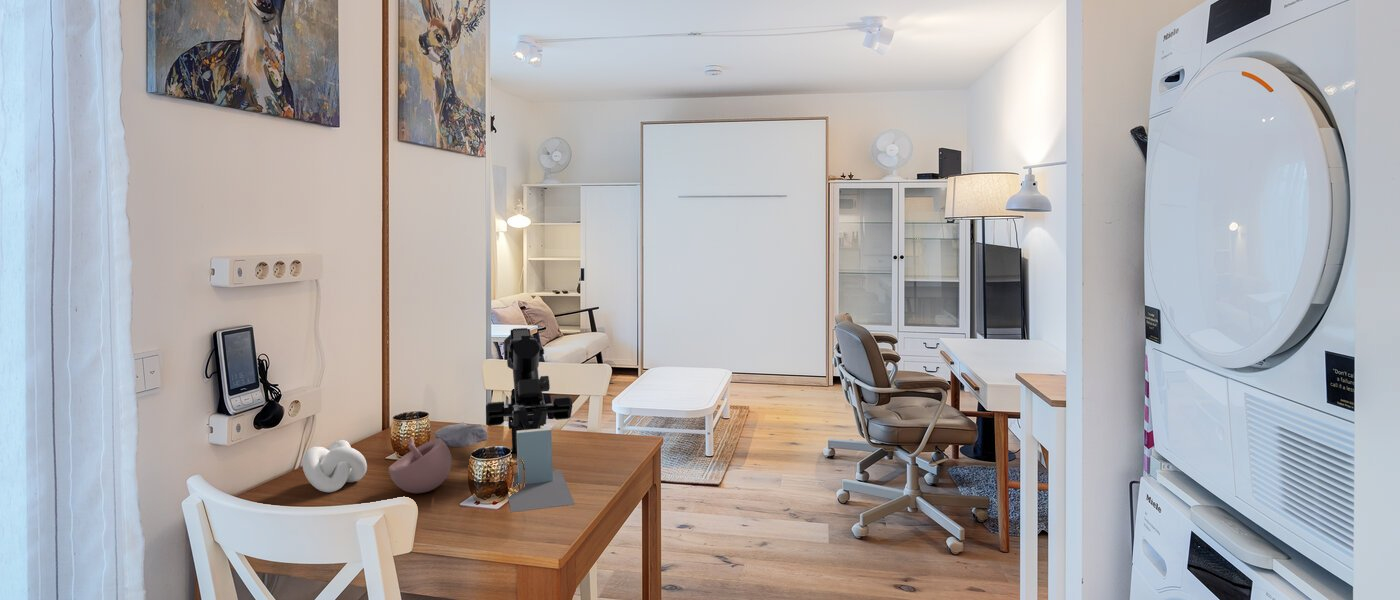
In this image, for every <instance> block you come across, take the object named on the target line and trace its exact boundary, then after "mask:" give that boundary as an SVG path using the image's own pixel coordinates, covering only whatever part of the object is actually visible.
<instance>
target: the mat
mask: <svg viewBox="0 0 1400 600" xmlns="http://www.w3.org/2000/svg"><path fill="white" fill-rule="evenodd" d="M552 470H553V469H552ZM513 475H514V482H513V487H515V486H516V484H517V485H518V473H517V474H513ZM518 488H519V491H518V492H517V493H514V494H512V495H511V496H510V497H509V498H508V497H507V499H508V504H509V509H510V513H517V512H524V511H533V510H534V511H535V510H540V509H549V508H557V507H564V506H565V507H566V506H571V505H575V504H576V503H575V500H574V498H573V496H572V493H571V491H570V488H569V486H568V484H567V482H566V479H565V477H564V475H563V472H562V470H561V469H554V470H553V481H548V482H539V483H530V484H525V487H524V488H523V489H522V490H521V489H520V485H518Z"/></svg>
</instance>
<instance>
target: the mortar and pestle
mask: <svg viewBox="0 0 1400 600" xmlns="http://www.w3.org/2000/svg"><path fill="white" fill-rule="evenodd" d="M407 441H408V449H409V450H410V451H408V452H407V453H405V454H404V455H403V456H402V457H400V458H398V459H397V460H396V461H395V462H393V463H392V464H391V465H390V466H389V467H388V473H389V477H390V478H391V480H392V481H393V483H394V484H395V485H396V486H397V488H398V489H401V490H402V491H404V492H407V493H411V494H424V493H428V492H431V491H433V490H435V489H437V488H438V487H439V486H441V485H442V483H444V481H446V478H448V476H449V474H450V472H451V467H452V454H451V451H450V449H449V447H448V445H447V444H445V443H444V442H443V440H442V439H440V438H438V439H437V438H434V439H431V440H429V441H426V442H425V443H424V444H421V445H419V446H418V447H416V444H415V439H414V438H413V437H409V438H408V440H407Z"/></svg>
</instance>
